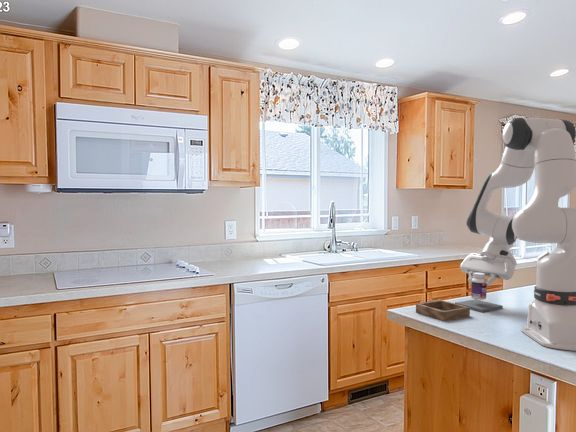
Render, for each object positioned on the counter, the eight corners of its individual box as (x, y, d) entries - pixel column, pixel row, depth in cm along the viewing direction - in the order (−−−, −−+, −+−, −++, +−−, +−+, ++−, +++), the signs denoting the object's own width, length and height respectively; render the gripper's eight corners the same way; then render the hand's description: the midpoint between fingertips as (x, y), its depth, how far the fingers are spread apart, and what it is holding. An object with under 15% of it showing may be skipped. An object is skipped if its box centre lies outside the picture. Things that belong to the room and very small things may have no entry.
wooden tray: (469, 315, 154) (469, 307, 154) (444, 320, 148) (444, 312, 148) (440, 307, 166) (440, 299, 166) (415, 312, 160) (415, 303, 159)
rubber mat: (502, 308, 165) (502, 305, 165) (481, 312, 159) (481, 309, 159) (475, 301, 176) (475, 299, 176) (454, 305, 170) (454, 302, 170)
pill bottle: (484, 300, 164) (484, 275, 163) (469, 298, 167) (469, 273, 167) (487, 297, 168) (488, 272, 168) (473, 296, 171) (473, 271, 171)
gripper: (466, 247, 179) (450, 273, 174) (515, 253, 162) (500, 282, 157) (472, 257, 182) (457, 283, 177) (521, 264, 165) (506, 293, 160)
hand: (477, 283), depth 167 cm, fingers closed on pill bottle, 5 cm apart
